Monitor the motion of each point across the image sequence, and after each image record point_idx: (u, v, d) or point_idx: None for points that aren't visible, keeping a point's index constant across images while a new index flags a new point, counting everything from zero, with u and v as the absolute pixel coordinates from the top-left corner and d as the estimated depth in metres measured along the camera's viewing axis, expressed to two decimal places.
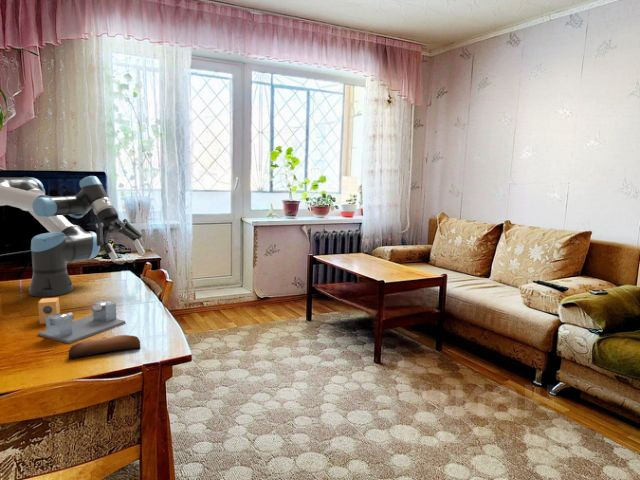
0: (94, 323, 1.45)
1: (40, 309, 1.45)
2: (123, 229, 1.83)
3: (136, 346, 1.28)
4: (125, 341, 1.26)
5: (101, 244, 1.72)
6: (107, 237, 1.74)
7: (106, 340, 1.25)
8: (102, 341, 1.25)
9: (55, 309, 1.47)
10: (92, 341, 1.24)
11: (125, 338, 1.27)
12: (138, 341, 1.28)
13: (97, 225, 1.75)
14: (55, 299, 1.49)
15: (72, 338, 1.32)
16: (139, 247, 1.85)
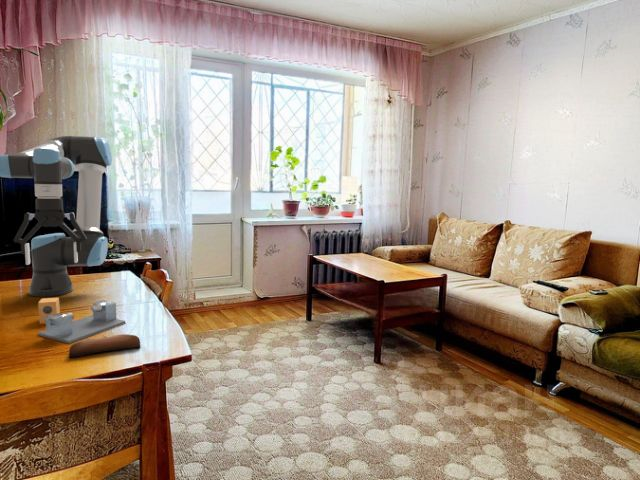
0: (94, 323, 1.45)
1: (40, 309, 1.45)
2: (61, 227, 1.46)
3: (136, 345, 1.28)
4: (125, 340, 1.27)
5: None
6: (28, 236, 1.43)
7: (106, 339, 1.26)
8: (102, 340, 1.25)
9: (55, 309, 1.47)
10: (92, 340, 1.25)
11: (125, 337, 1.28)
12: (138, 340, 1.28)
13: None
14: (55, 299, 1.49)
15: (72, 338, 1.32)
16: (74, 253, 1.49)
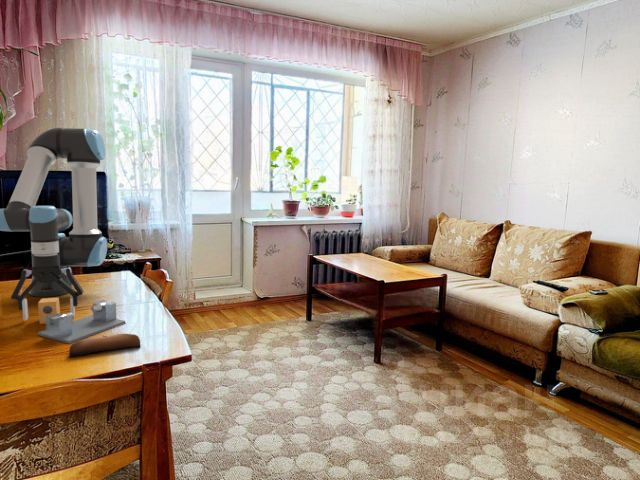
0: (94, 323, 1.45)
1: (40, 309, 1.45)
2: None
3: (136, 344, 1.29)
4: (125, 339, 1.27)
5: None
6: (25, 292, 1.44)
7: (106, 338, 1.26)
8: (102, 339, 1.26)
9: (55, 309, 1.47)
10: (92, 339, 1.25)
11: (125, 336, 1.28)
12: (138, 340, 1.29)
13: None
14: (55, 299, 1.49)
15: (72, 338, 1.32)
16: (71, 307, 1.50)
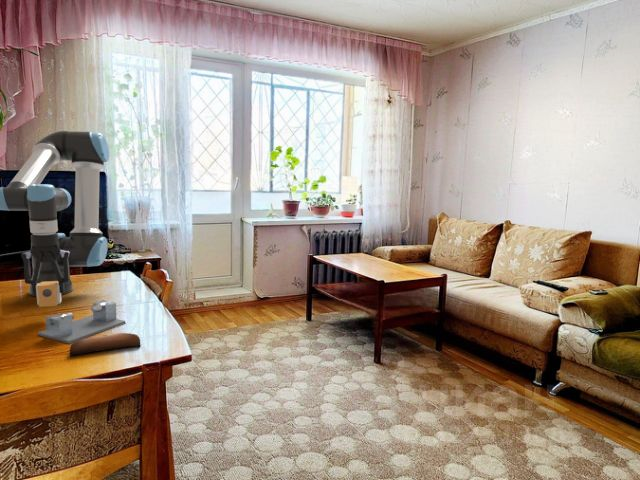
0: (94, 323, 1.45)
1: (40, 292, 1.45)
2: None
3: (136, 344, 1.29)
4: (125, 339, 1.28)
5: None
6: (35, 276, 1.45)
7: (107, 338, 1.27)
8: (103, 339, 1.26)
9: (55, 292, 1.46)
10: (92, 338, 1.26)
11: (125, 336, 1.29)
12: (138, 339, 1.29)
13: None
14: (55, 282, 1.48)
15: (72, 338, 1.32)
16: (57, 294, 1.48)
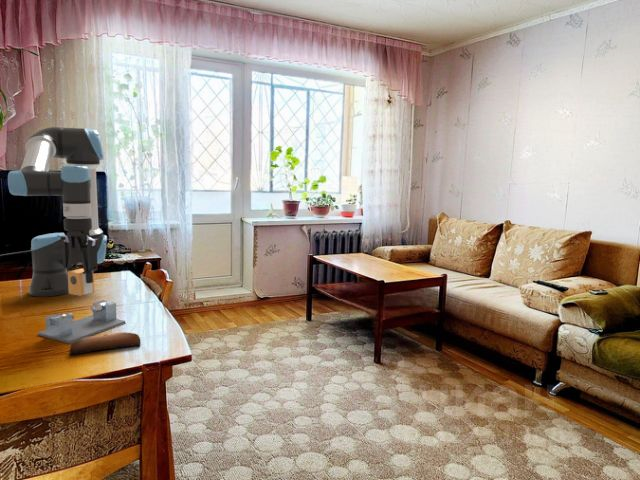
0: (94, 323, 1.45)
1: (69, 278, 1.38)
2: None
3: (136, 343, 1.30)
4: (125, 338, 1.28)
5: None
6: (69, 260, 1.39)
7: (107, 337, 1.27)
8: (103, 338, 1.27)
9: (78, 281, 1.37)
10: (93, 337, 1.26)
11: (125, 335, 1.29)
12: (138, 338, 1.30)
13: None
14: None
15: (72, 338, 1.32)
16: None
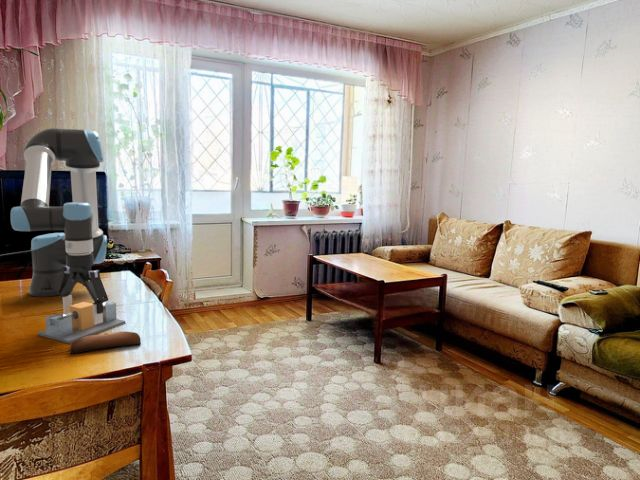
0: None
1: None
2: None
3: (136, 342, 1.30)
4: (125, 337, 1.29)
5: None
6: (64, 289, 1.42)
7: (107, 336, 1.28)
8: (103, 337, 1.27)
9: (80, 316, 1.39)
10: (93, 336, 1.27)
11: (126, 334, 1.30)
12: (138, 337, 1.31)
13: None
14: (87, 305, 1.41)
15: (72, 338, 1.32)
16: None
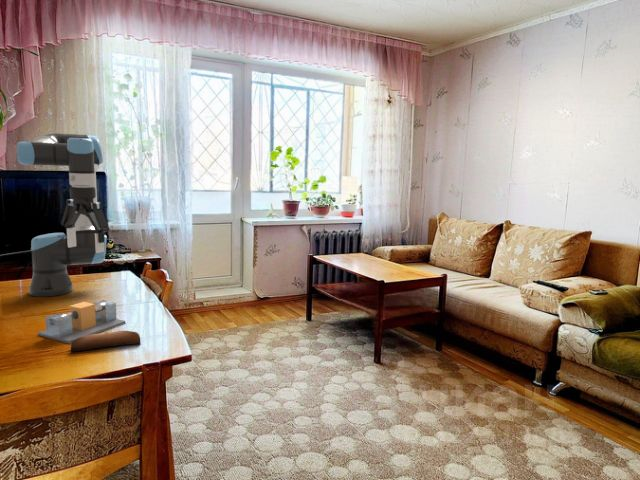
0: None
1: None
2: None
3: (136, 342, 1.31)
4: (125, 336, 1.30)
5: None
6: (68, 221, 1.52)
7: (107, 335, 1.29)
8: (103, 336, 1.28)
9: (80, 316, 1.39)
10: (93, 335, 1.28)
11: (126, 333, 1.30)
12: (138, 337, 1.31)
13: None
14: (87, 305, 1.41)
15: (72, 338, 1.32)
16: None
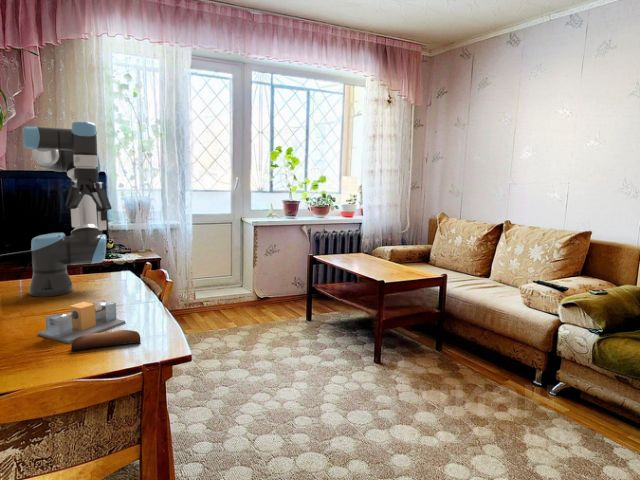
0: None
1: None
2: None
3: (136, 341, 1.31)
4: (125, 335, 1.30)
5: None
6: (72, 201, 1.60)
7: (107, 334, 1.29)
8: (104, 335, 1.29)
9: (80, 316, 1.39)
10: (94, 334, 1.29)
11: (126, 333, 1.31)
12: (138, 336, 1.32)
13: None
14: (87, 305, 1.41)
15: (72, 338, 1.32)
16: None
